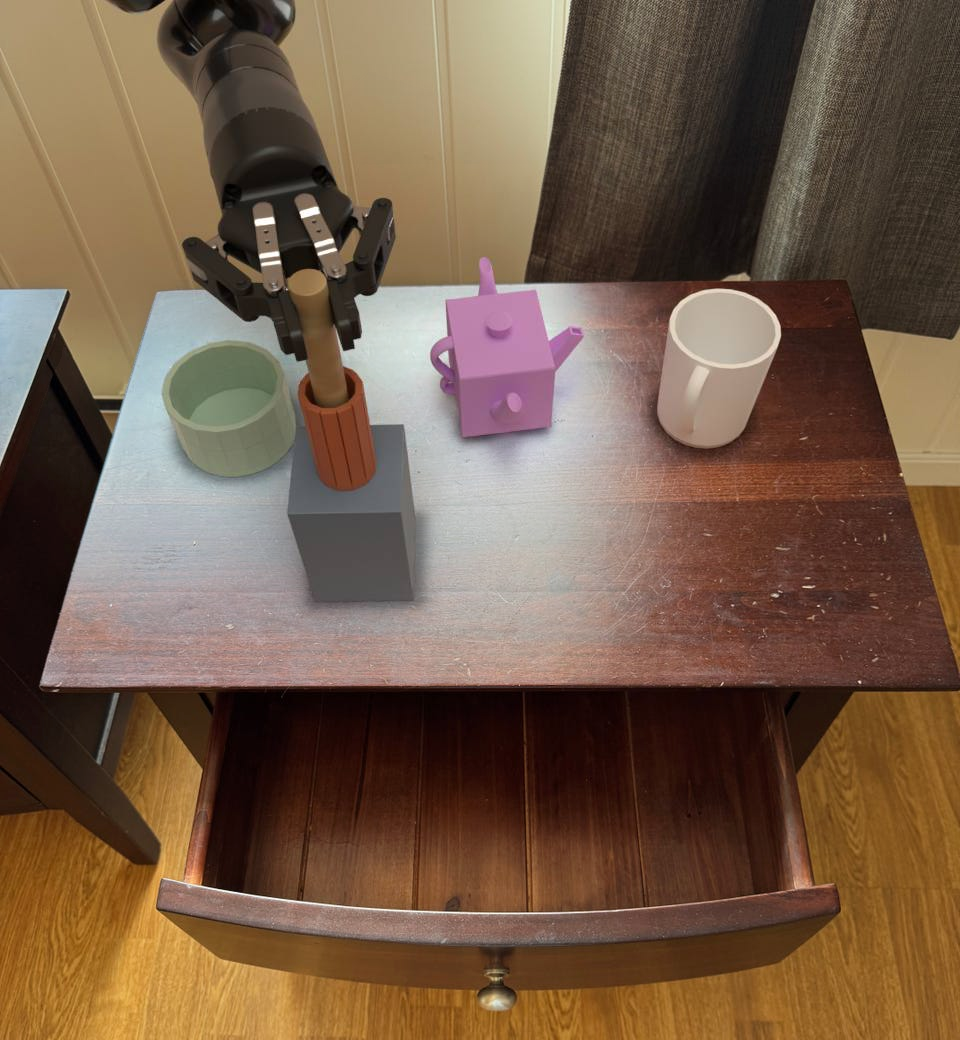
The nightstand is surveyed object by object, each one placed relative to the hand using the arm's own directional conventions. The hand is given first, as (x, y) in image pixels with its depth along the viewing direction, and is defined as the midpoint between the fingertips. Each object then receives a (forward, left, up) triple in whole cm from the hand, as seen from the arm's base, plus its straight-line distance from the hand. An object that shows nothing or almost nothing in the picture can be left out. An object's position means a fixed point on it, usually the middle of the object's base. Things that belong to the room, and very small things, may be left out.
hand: (324, 343), depth 55 cm
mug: (+28, +17, -27) cm, 42 cm away
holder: (-1, +3, -27) cm, 27 cm away
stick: (-1, +3, -14) cm, 14 cm away
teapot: (+11, +20, -27) cm, 35 cm away
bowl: (-13, +17, -27) cm, 34 cm away
